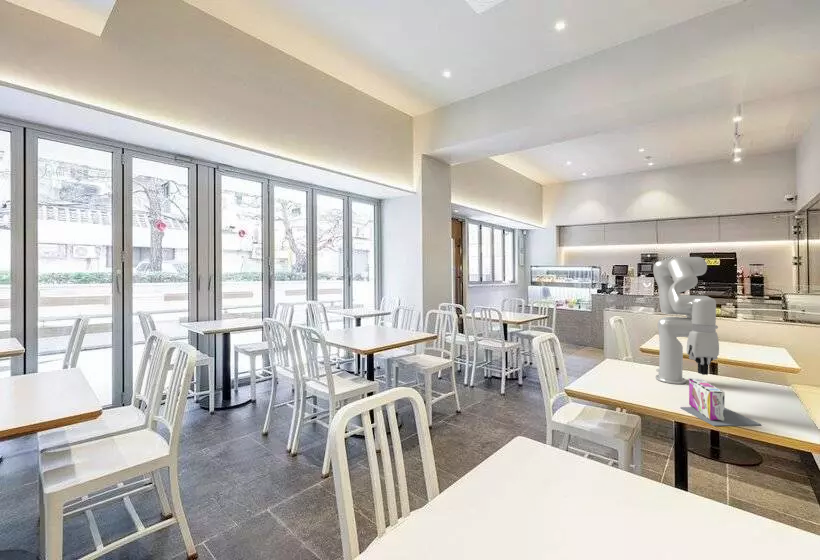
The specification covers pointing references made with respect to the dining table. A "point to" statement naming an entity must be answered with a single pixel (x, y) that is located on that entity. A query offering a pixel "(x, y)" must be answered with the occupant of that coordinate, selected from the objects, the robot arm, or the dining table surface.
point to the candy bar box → (706, 399)
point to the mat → (729, 418)
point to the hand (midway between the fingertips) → (702, 373)
